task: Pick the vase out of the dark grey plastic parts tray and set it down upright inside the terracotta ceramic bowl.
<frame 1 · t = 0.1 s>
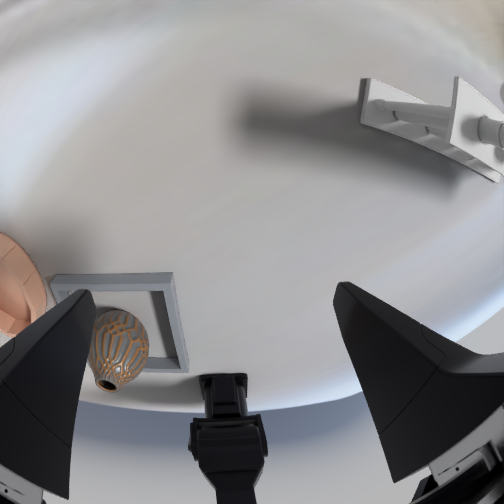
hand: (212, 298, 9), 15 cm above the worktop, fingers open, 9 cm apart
vase: (124, 322, 28), resting in parts tray
test tube rack: (450, 138, 22), on the worktop
parts tray: (123, 323, 28), on the worktop
bowl: (7, 280, 23), on the worktop
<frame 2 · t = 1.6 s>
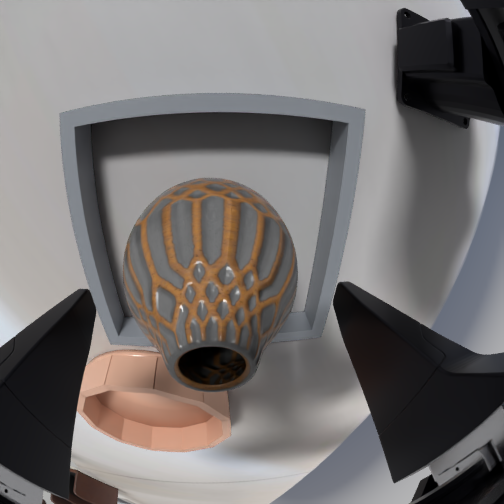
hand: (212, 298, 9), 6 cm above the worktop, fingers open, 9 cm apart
vase: (209, 228, 14), resting in parts tray
parts tray: (209, 230, 14), on the worktop
bowl: (154, 396, 21), on the worktop
letter holder: (87, 477, 44), on the worktop
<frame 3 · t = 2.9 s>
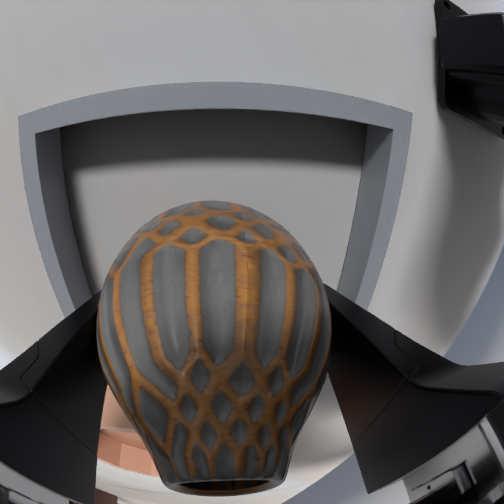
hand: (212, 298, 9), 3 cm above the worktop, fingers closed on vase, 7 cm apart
vase: (211, 258, 11), resting in parts tray, touching gripper
parts tray: (211, 260, 11), on the worktop
bowl: (152, 425, 18), on the worktop
letter holder: (85, 485, 42), on the worktop
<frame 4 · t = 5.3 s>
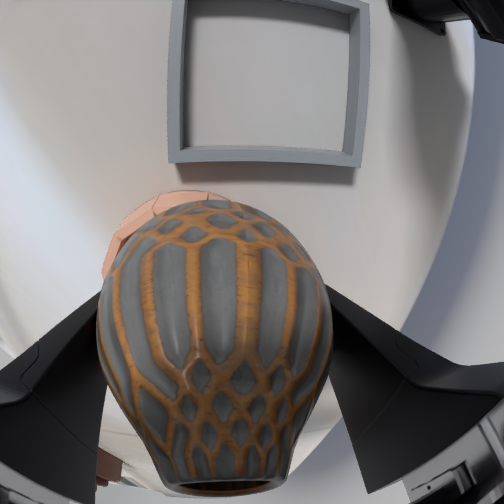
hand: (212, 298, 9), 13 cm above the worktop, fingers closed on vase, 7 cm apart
vase: (212, 257, 11), point 10 cm above the worktop, touching gripper
parts tray: (270, 67, 16), on the worktop
bowl: (190, 266, 23), on the worktop
letter holder: (89, 446, 48), on the worktop
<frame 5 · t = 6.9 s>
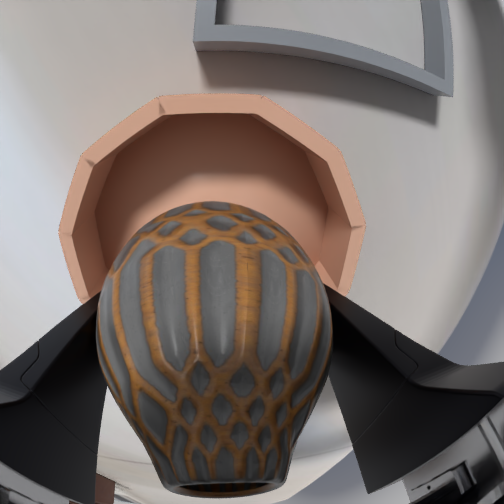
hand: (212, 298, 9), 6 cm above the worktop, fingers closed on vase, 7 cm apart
vase: (212, 258, 11), point 3 cm above the worktop, touching gripper
bowl: (210, 231, 14), on the worktop
letter holder: (77, 466, 37), on the worktop
when the fingers open (4 cm above the worktop, at t = 8.2 s): vase stays where it is, resting on bowl.
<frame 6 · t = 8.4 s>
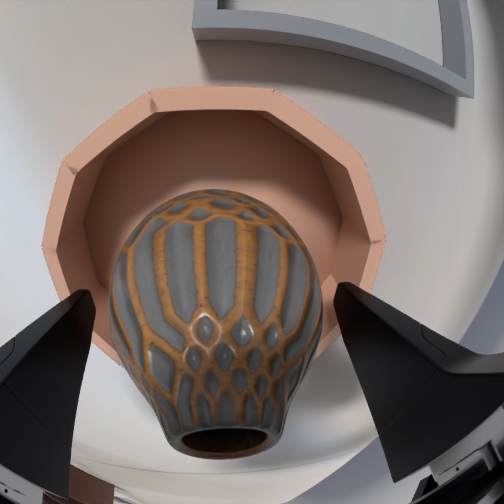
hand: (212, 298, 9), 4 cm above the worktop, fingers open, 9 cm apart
vase: (212, 245, 12), resting on bowl
bowl: (211, 243, 13), on the worktop
letter holder: (76, 470, 36), on the worktop
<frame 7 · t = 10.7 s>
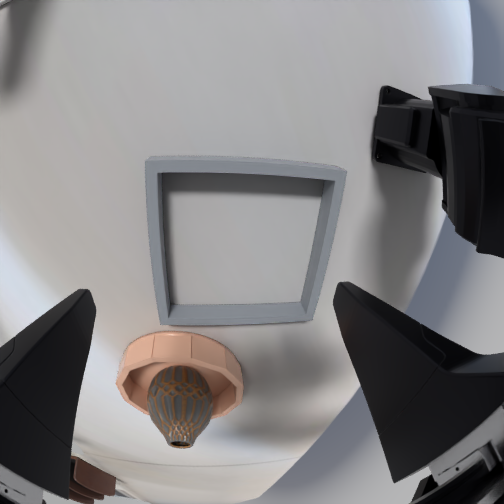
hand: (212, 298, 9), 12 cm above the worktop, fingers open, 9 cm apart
vase: (180, 373, 28), resting on bowl
parts tray: (241, 244, 21), on the worktop
bowl: (180, 371, 28), on the worktop
letter holder: (86, 465, 49), on the worktop
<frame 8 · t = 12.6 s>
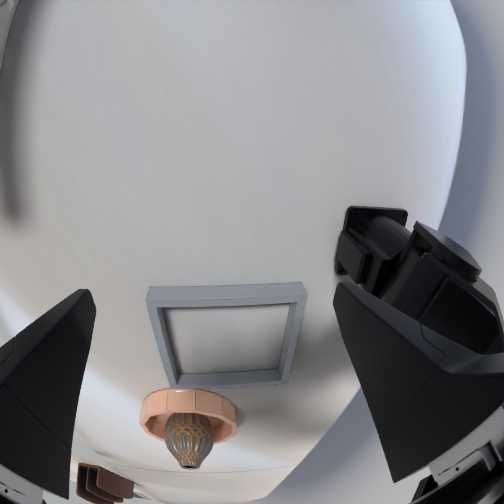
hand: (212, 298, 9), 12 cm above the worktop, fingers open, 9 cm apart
vase: (188, 412, 33), resting on bowl
test tube rack: (7, 2, 6), on the worktop
parts tray: (227, 338, 27), on the worktop
bowl: (188, 410, 34), on the worktop
letter holder: (107, 472, 57), on the worktop
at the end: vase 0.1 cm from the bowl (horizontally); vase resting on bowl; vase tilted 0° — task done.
